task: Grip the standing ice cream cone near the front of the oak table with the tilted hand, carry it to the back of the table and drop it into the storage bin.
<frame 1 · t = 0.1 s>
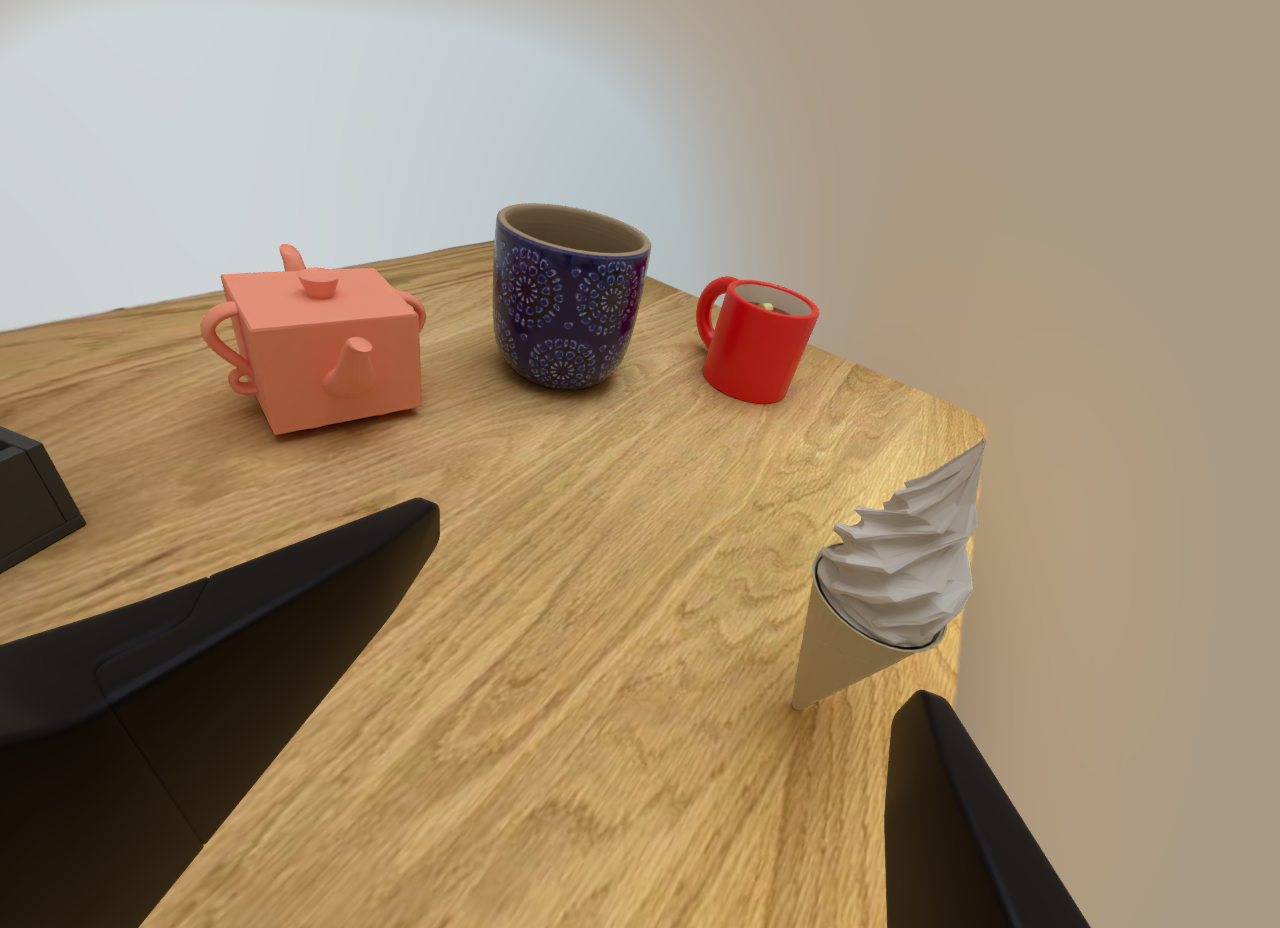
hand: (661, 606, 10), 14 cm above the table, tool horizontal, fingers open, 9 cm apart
ice cream cone: (795, 707, 25), on the table
mug: (728, 371, 52), on the table
planter: (557, 370, 45), on the table
teapot: (336, 401, 36), on the table
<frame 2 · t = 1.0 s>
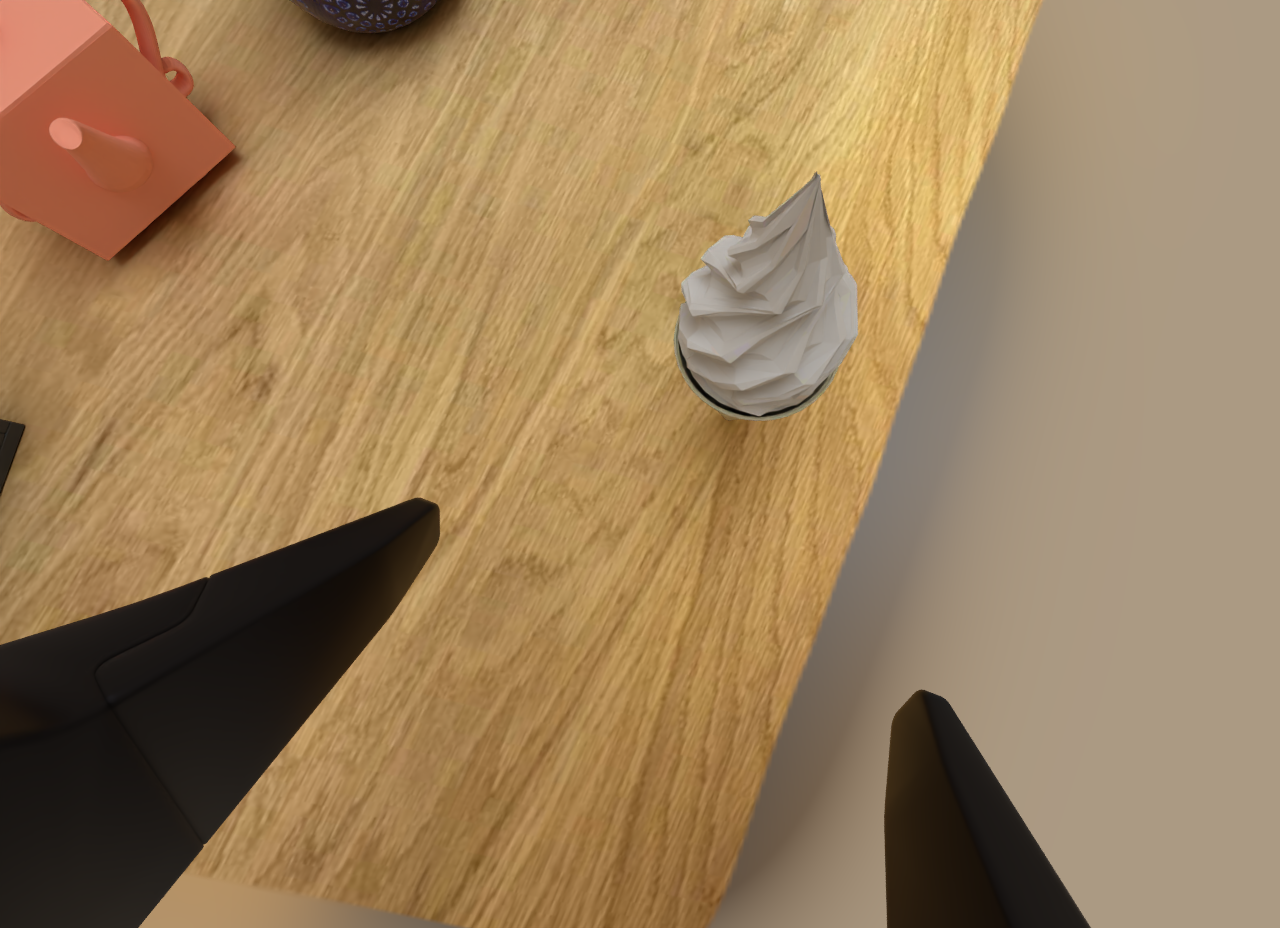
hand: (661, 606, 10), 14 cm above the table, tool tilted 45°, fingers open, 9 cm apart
ice cream cone: (728, 415, 25), on the table
teapot: (146, 174, 29), on the table
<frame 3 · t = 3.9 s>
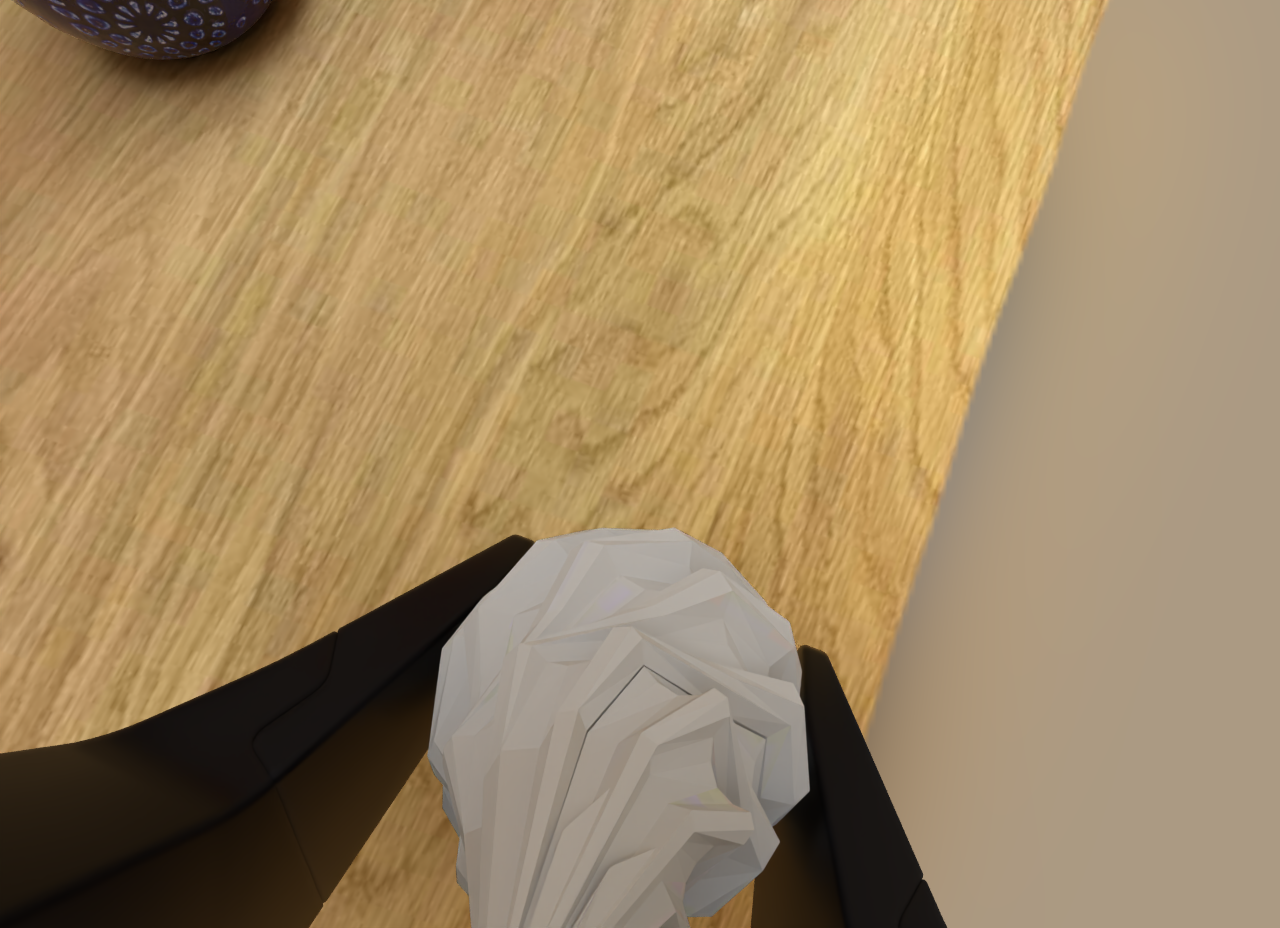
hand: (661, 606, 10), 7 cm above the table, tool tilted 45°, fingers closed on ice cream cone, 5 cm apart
ice cream cone: (649, 632, 17), on the table, touching gripper
when the fingers open (8 cm above the table, at t = 13.6 s): ice cream cone stays where it is, resting on storage bin.
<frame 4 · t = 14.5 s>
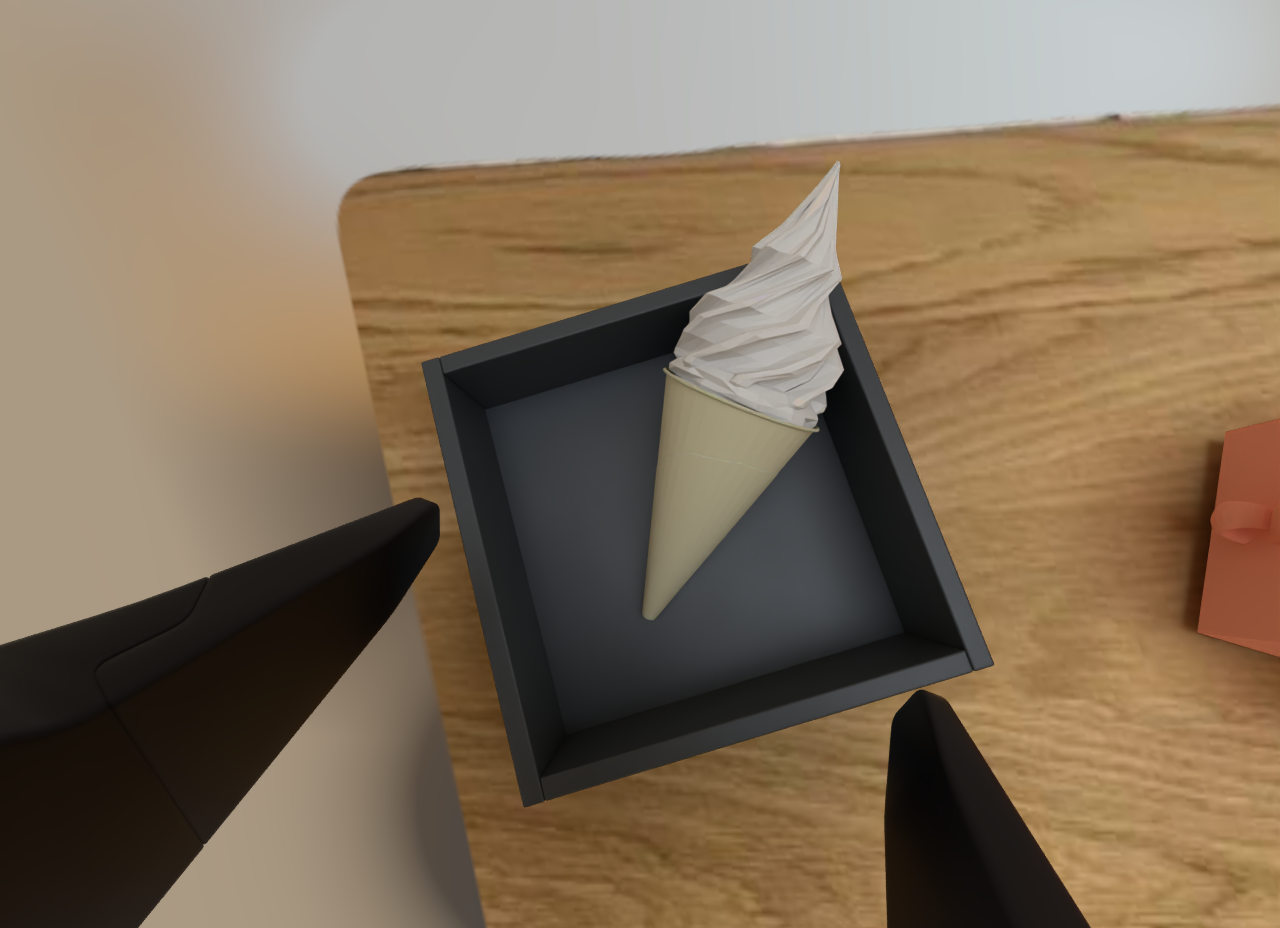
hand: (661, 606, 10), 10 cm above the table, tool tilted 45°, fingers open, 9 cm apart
ice cream cone: (646, 620, 19), point 1 cm above the table, touching storage bin
storage bin: (682, 516, 21), on the table
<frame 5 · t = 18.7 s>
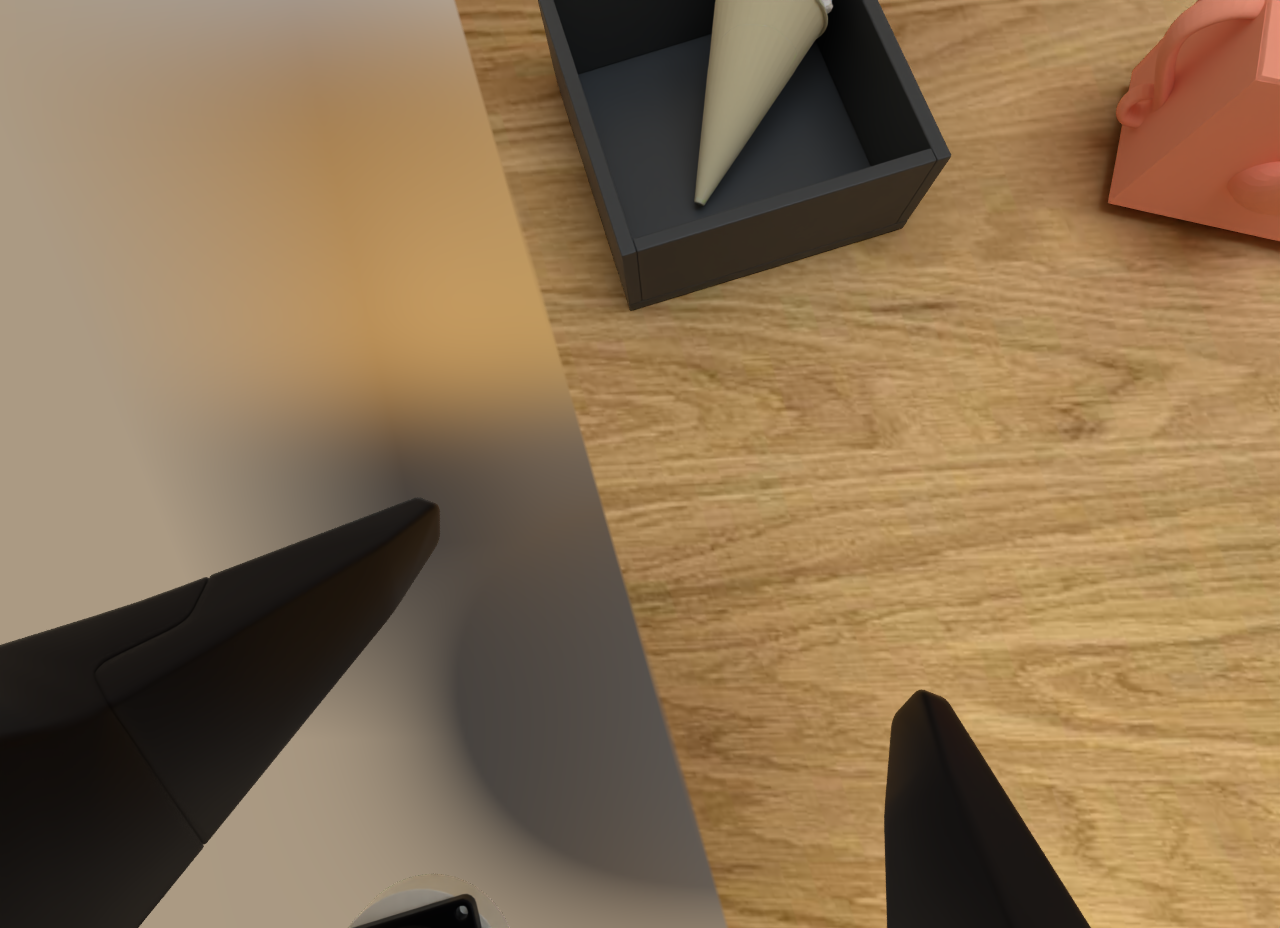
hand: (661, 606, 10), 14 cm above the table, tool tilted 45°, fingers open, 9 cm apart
ice cream cone: (697, 208, 25), point 1 cm above the table, touching storage bin
teapot: (1200, 169, 25), on the table
storage bin: (721, 151, 27), on the table
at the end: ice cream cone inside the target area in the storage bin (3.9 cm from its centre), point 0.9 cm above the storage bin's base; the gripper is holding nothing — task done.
